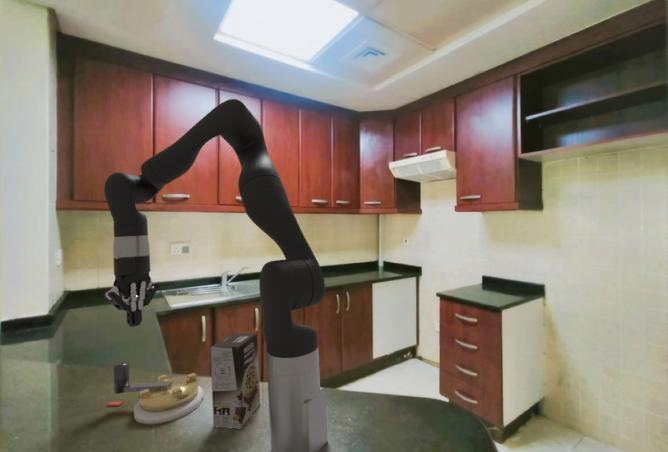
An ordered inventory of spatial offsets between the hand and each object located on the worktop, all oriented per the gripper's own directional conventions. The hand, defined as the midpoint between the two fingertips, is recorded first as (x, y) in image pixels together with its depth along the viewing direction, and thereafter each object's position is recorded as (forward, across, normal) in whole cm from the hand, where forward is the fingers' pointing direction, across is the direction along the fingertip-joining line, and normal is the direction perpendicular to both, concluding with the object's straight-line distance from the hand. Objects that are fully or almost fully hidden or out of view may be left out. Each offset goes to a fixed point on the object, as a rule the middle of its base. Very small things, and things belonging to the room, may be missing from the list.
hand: (134, 325), depth 76 cm
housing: (+18, 0, +11) cm, 21 cm away
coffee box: (+18, -2, +29) cm, 34 cm away
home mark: (+18, +4, -3) cm, 18 cm away
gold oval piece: (+16, +1, +8) cm, 18 cm away
